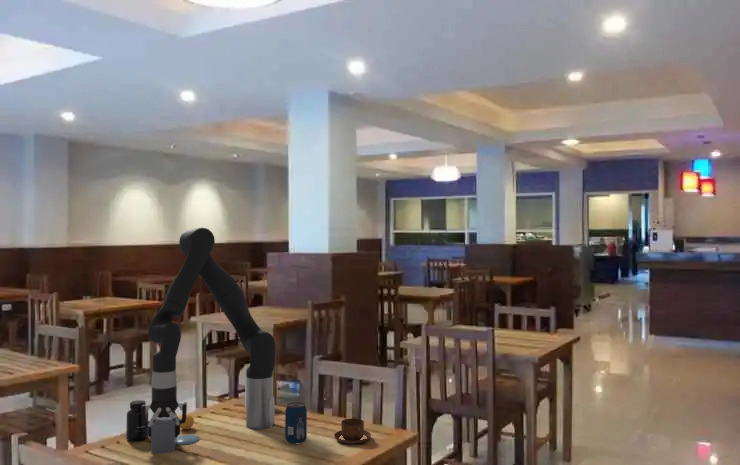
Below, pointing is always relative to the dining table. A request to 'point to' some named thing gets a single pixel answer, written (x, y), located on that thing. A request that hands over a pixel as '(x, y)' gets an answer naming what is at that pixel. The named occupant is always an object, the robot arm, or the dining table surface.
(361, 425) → the rectangular block and saucer
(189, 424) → the ball
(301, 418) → the soda can
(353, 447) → the dining table surface
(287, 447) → the dining table surface
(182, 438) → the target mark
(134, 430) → the supplement bottle
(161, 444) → the rectangular block
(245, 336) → the robot arm
